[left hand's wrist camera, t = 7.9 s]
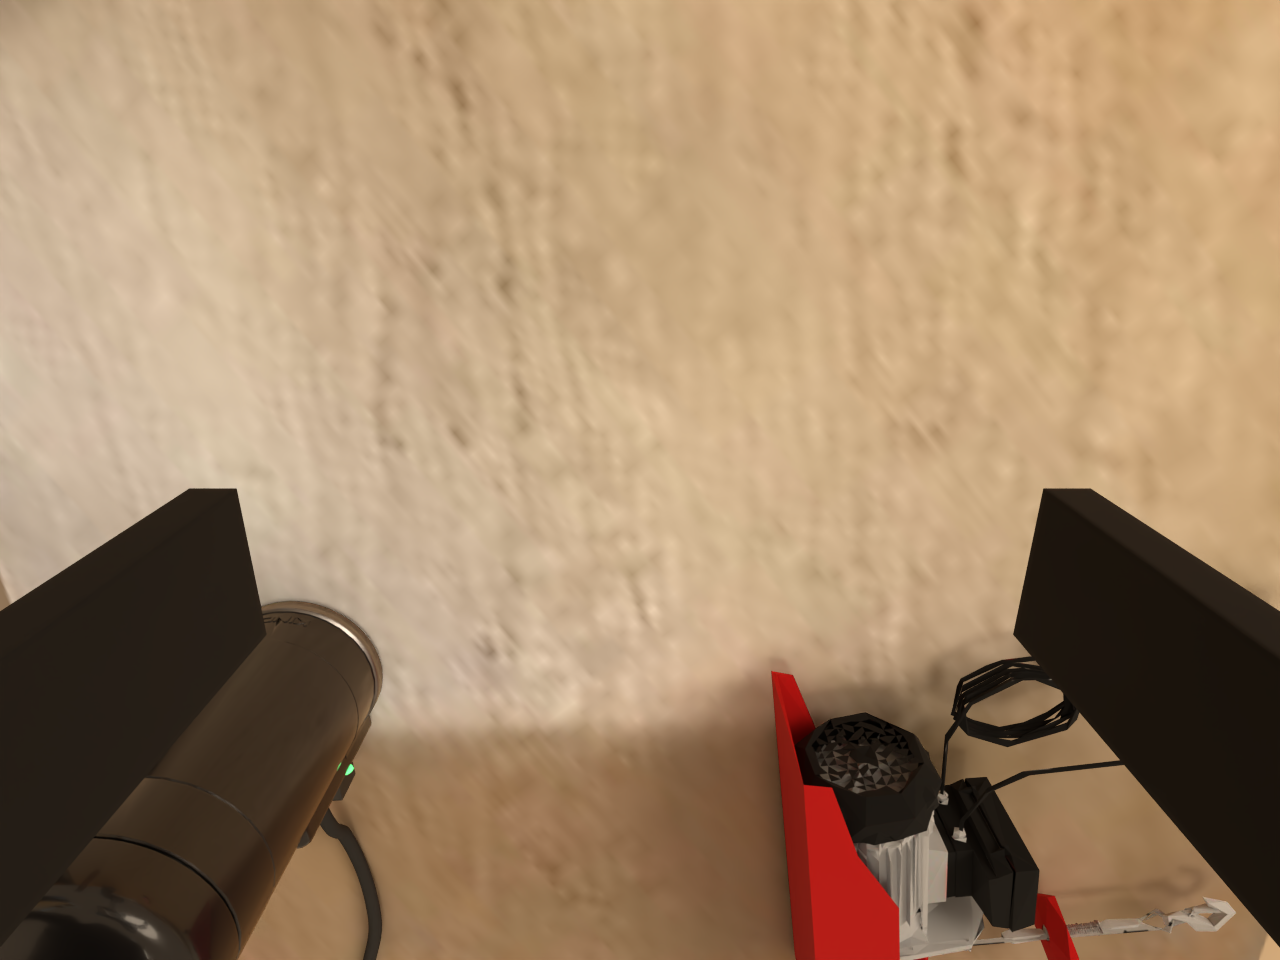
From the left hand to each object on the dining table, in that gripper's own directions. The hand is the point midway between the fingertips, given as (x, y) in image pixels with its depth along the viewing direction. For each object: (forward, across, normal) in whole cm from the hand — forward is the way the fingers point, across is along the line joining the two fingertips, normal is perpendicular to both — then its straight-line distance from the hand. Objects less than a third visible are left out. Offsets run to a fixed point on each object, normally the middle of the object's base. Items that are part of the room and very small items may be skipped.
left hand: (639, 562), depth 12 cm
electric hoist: (+27, +24, -31) cm, 48 cm away
